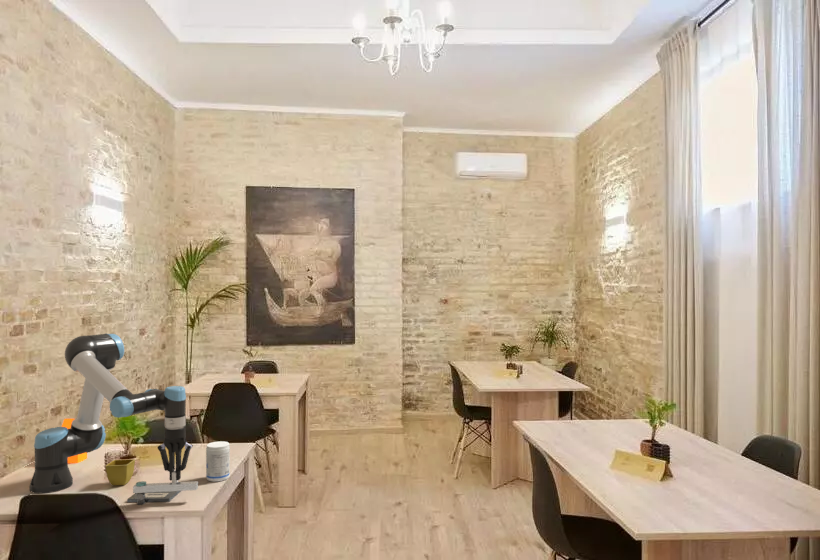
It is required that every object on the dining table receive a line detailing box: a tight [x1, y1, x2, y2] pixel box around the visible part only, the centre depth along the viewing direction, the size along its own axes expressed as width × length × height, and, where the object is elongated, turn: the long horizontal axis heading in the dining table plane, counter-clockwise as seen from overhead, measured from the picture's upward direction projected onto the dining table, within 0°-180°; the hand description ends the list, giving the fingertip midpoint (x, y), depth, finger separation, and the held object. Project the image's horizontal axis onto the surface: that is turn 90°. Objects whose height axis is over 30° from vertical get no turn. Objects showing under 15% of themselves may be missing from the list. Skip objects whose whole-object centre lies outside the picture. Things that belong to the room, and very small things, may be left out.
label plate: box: [126, 491, 182, 503], centre depth 230 cm, size 16×13×2 cm
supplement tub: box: [205, 440, 231, 483], centre depth 251 cm, size 10×10×15 cm
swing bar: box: [132, 480, 199, 494], centre depth 224 cm, size 23×4×3 cm, turn 96°
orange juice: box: [61, 418, 88, 464], centre depth 279 cm, size 8×9×20 cm
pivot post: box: [136, 493, 146, 506], centre depth 222 cm, size 3×3×4 cm
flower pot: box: [105, 458, 136, 487], centre depth 245 cm, size 9×9×9 cm
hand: (175, 488), depth 227 cm, fingers closed
